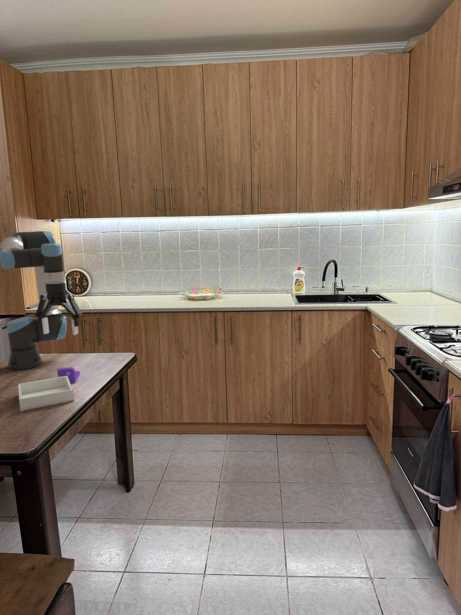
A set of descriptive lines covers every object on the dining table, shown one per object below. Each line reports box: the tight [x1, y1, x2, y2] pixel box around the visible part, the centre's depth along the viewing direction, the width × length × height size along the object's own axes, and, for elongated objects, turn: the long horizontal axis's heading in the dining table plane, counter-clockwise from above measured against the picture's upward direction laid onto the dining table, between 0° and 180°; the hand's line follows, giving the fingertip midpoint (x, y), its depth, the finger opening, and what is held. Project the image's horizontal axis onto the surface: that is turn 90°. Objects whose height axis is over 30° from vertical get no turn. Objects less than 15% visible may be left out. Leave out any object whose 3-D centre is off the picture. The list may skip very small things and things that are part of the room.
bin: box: [17, 376, 75, 412], centre depth 174 cm, size 19×19×5 cm
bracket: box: [56, 366, 81, 384], centre depth 195 cm, size 12×7×7 cm, turn 9°
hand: (60, 333), depth 182 cm, fingers open, 13 cm apart
